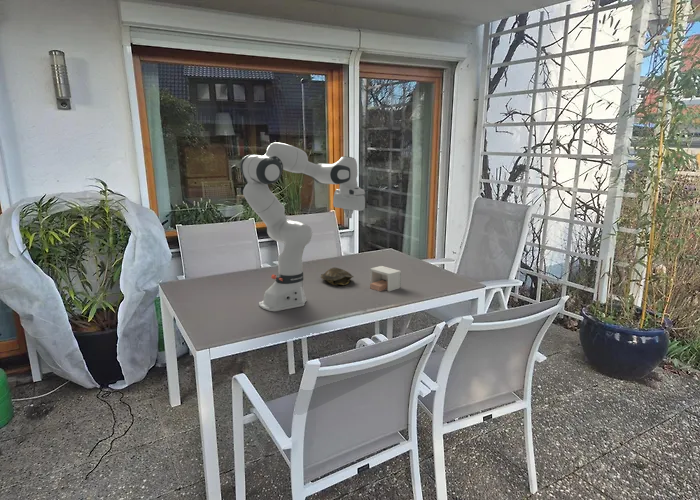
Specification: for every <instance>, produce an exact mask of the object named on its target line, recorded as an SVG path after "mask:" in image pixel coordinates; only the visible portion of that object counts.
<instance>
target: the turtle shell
mask: <svg viewBox="0 0 700 500" xmlns="http://www.w3.org/2000/svg"><path fill="white" fill-rule="evenodd" d="M319 277H320V279H321V280H323V281H326V282H327V283H329V284H331V285H334V286H337V285H338V286H340V285H341V286H345V285H348V284H349V283H350V282H351V281H350V280H351V279H353V278H354V275H352V274H351V273H350V272H349V271H347V270H345V269H342V268H339V267H332V268H330V269H328V270H326V271H325V272H324V273H322V274H320V276H319Z"/></svg>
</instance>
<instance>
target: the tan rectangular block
mask: <svg viewBox="0 0 700 500" xmlns="http://www.w3.org/2000/svg"><path fill="white" fill-rule="evenodd" d="M369 285H370V286H369V287H370V289H371V290H374V291H377V292H381V291H384V290H388V282H387V281H383V280H381V281H377V282H374V283H371V284H370V283H369Z"/></svg>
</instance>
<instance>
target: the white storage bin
mask: <svg viewBox="0 0 700 500" xmlns="http://www.w3.org/2000/svg"><path fill="white" fill-rule="evenodd" d="M401 276H402V271H401V270H399V269H395V268H391V267H387V266H383V265H379V266H375V267H372V268H371V267H370V268H369V285H370V284H371V283H374V282H377V281H380V280H381V279H384V280H386V281H387V282H388V289H387V292H391V291H395V290H398V289H400V288H401V281H402V280H401V279H402V277H401Z"/></svg>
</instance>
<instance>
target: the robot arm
mask: <svg viewBox="0 0 700 500" xmlns="http://www.w3.org/2000/svg"><path fill="white" fill-rule="evenodd" d="M239 168H240V173H241V175H242V178H243V181H244V182H245V183H247V184H245V186H244V188H243V190H242V195H243V197H244V199H245V200H246V203H247V204H248V205H249V206H250V208H251V209H252V211H253V212H255V214H256V215H257V216H258V218H260V220H261V221H262V222H263V223H264V224H265V226H266V233H267V235H268V237H269V238H270V239H272V240H274V241H275V242H277V243H278V242H279V243H283V244H284V245H283V251H282V252H281V253H280V254H279V255H278V256H277V257H278V258H277V263H278V266H277V267H278V273H277V275H276V274H271V277H270V278H271V279H273V280H275V281H274V282H273V284H271V286H270V287H269V288H267V289H266V290H265V292H264V295H263V300H262V301H259V302H258V304H259V307H260V308H261V309H263V310H265V311H269V312H280V311H283V310H284V311H285V310H290V309H294V308H299V307H304V306H305V303H306V302H307V300H308V299H307V297H306V294H305V289H304V288H305V287H304V272H303V255H304V251H305V248H306V246H307V245H308V244H309V243H310V242H311V241H312V237H313V231H312V228H311V227H310V226H309V225H308V224H306V223H304V222H302V221H298V220H292V219H290V218H288V217H287V215H286V214H285V213H286V212H285V211H286V210H285V207H284V205H283V203H281V201H279V199H278V198H277V197H276V195H275V194H274V193H273V192H272V191H271V189H270V188H269V185H274V184H275V183H277V182H278V181H279V180H280V178H281V176H282V173H283V170H284V171H287V172H289V173H293V174H304V175H307V176H308V177H310V178H312V179H313V180H314V181H315V182H316V183H317V184H320V185H325V184H326V185H339V188H336V190H335V191H334V194H333V199H332V201H333V202H332V205H333V207H334V208H336V209H337V208H338V209H343V212H344V214H345V218H346V219H352V218H353V213H354V211H358V212H359V211H365V208H366V197H365V194H366V192H365V189H363V188H361V187H360V186H358V180H357V179H358V163H357V160H356V158H355V157H352V156H340V159H339V160H337V161H336V162H333V163H324V162H318V163H314V162H312V161H309V157H308V154H307V152H306V151H304V150H303V149H301V148H299V147H296V146H294V145H291V144H287V143H283V142H272V143H270V144H269V145H268V146H267V148H266V152H265V154H264V155H260V154H254V153H250V154H247V155H245V156H243V157H242V159H241V160H240V164H239Z"/></svg>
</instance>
